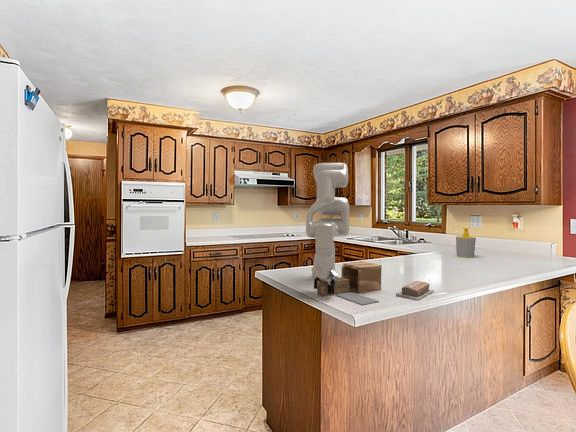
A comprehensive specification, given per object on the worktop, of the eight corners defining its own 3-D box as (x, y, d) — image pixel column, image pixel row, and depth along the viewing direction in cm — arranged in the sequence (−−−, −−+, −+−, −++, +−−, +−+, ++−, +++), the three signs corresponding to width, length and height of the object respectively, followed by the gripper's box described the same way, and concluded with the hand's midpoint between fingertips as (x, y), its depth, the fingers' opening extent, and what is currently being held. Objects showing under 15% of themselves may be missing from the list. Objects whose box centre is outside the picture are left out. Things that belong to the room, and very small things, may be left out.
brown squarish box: (341, 287, 164) (341, 263, 163) (362, 283, 170) (362, 261, 170) (359, 293, 153) (360, 268, 152) (381, 289, 160) (381, 265, 159)
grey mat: (336, 295, 149) (336, 294, 149) (351, 292, 154) (351, 292, 154) (362, 305, 135) (362, 304, 135) (378, 302, 140) (378, 301, 140)
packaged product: (412, 279, 162) (434, 282, 156) (412, 289, 163) (433, 293, 156) (395, 285, 149) (418, 290, 142) (395, 297, 149) (418, 301, 142)
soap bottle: (477, 256, 257) (478, 228, 256) (472, 258, 248) (473, 229, 247) (458, 254, 266) (459, 227, 265) (452, 256, 257) (453, 228, 256)
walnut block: (316, 294, 152) (317, 280, 151) (341, 290, 159) (342, 277, 159) (323, 297, 147) (324, 283, 147) (349, 292, 155) (349, 279, 154)
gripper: (305, 249, 155) (305, 287, 156) (329, 255, 140) (329, 297, 141) (319, 248, 159) (319, 285, 160) (344, 253, 144) (343, 294, 145)
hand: (323, 290), depth 151 cm, fingers open, 9 cm apart
